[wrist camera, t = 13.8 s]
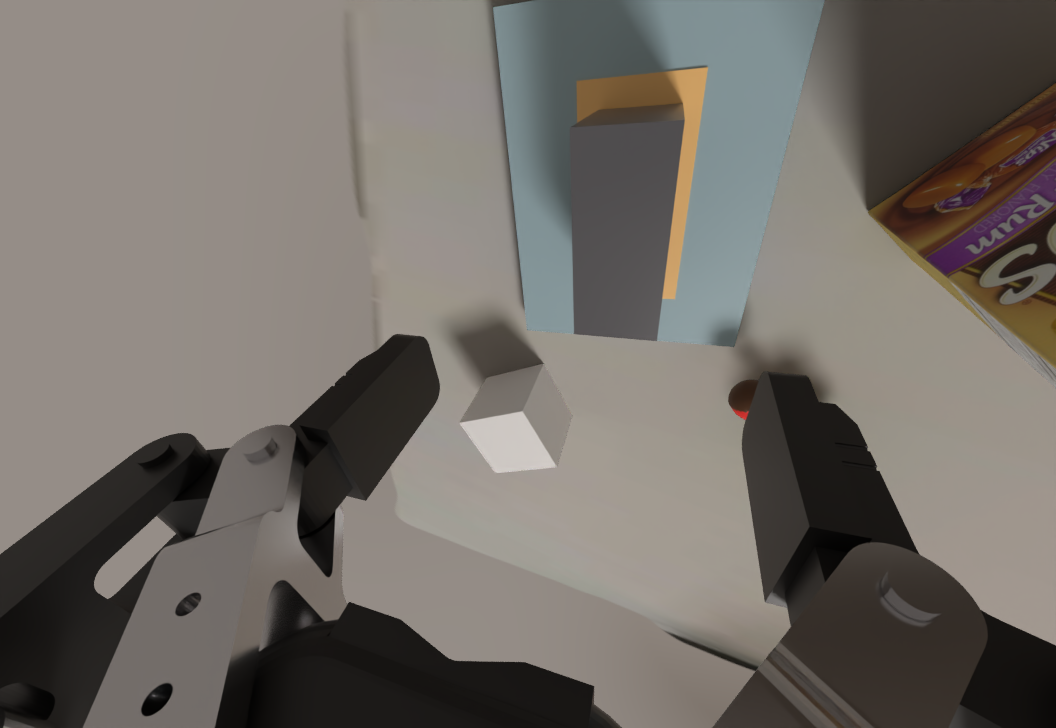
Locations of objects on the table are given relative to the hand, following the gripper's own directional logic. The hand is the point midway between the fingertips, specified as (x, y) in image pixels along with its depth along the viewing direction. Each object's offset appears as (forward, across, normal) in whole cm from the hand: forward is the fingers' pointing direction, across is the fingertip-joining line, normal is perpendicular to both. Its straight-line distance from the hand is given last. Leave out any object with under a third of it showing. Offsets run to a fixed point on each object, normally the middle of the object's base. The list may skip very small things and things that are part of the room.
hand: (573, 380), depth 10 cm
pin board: (+18, 0, 0) cm, 18 cm away
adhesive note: (+18, +8, +17) cm, 26 cm away
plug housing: (+16, 0, 0) cm, 16 cm away
